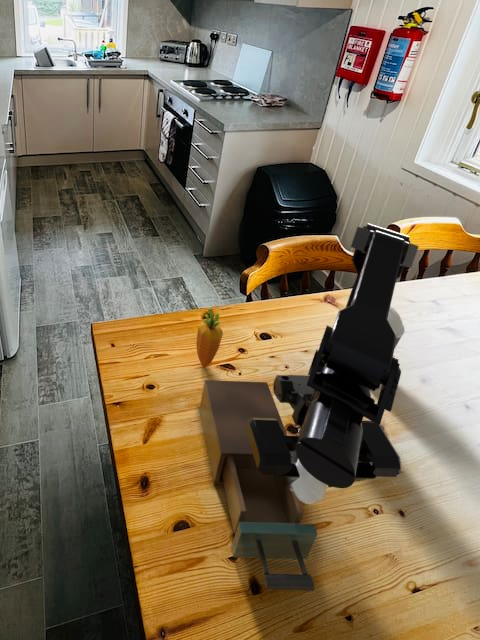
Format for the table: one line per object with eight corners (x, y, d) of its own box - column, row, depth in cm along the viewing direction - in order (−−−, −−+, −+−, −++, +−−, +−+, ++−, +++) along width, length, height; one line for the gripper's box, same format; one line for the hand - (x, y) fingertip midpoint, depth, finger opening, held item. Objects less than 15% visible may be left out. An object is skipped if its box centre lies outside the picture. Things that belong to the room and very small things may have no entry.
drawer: (322, 607, 51) (335, 583, 49) (243, 605, 51) (252, 581, 48) (276, 468, 66) (284, 444, 64) (215, 466, 66) (220, 442, 63)
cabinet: (284, 486, 64) (295, 455, 61) (213, 484, 64) (221, 453, 61) (258, 411, 76) (267, 382, 73) (199, 409, 76) (204, 379, 73)
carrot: (215, 378, 82) (227, 324, 76) (191, 373, 83) (201, 319, 77) (215, 358, 87) (225, 306, 81) (192, 354, 87) (201, 301, 82)
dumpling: (297, 456, 61) (310, 442, 60) (327, 492, 58) (341, 478, 56) (272, 480, 57) (286, 465, 55) (303, 520, 53) (318, 506, 52)
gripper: (368, 358, 58) (340, 427, 64) (244, 354, 58) (227, 425, 64) (422, 436, 48) (382, 509, 54) (272, 432, 48) (248, 507, 54)
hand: (306, 482), depth 57 cm, fingers closed on dumpling, 6 cm apart
